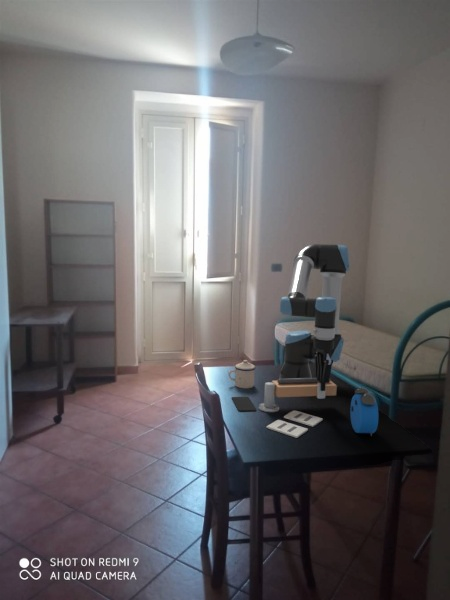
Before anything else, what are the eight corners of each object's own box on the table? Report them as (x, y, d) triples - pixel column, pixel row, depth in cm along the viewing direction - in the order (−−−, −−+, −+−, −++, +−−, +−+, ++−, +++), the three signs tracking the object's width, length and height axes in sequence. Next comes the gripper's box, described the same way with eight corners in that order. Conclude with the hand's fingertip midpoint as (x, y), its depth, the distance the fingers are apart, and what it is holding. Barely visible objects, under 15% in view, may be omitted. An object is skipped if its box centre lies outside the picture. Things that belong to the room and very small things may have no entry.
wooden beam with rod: (266, 409, 171) (268, 382, 169) (261, 402, 178) (262, 376, 177) (335, 407, 176) (337, 380, 174) (327, 399, 184) (328, 374, 182)
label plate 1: (278, 421, 163) (278, 419, 163) (307, 430, 156) (307, 428, 156) (266, 427, 157) (266, 426, 157) (296, 438, 150) (296, 436, 150)
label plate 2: (294, 411, 173) (294, 409, 173) (322, 420, 166) (322, 418, 165) (283, 417, 166) (283, 415, 166) (312, 426, 159) (313, 424, 159)
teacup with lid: (252, 382, 206) (253, 357, 205) (256, 388, 197) (257, 363, 196) (226, 382, 205) (227, 357, 203) (229, 389, 196) (230, 363, 194)
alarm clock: (377, 440, 150) (380, 397, 148) (358, 439, 150) (362, 397, 148) (365, 424, 163) (368, 384, 161) (348, 423, 163) (351, 384, 161)
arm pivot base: (265, 403, 181) (265, 401, 180) (282, 408, 176) (282, 406, 176) (254, 408, 174) (254, 406, 174) (272, 414, 169) (272, 412, 169)
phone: (248, 396, 187) (257, 410, 172) (248, 398, 187) (257, 412, 172) (231, 396, 185) (238, 410, 171) (231, 398, 185) (238, 412, 171)
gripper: (308, 334, 174) (305, 392, 177) (321, 342, 162) (318, 404, 165) (326, 334, 176) (323, 391, 179) (341, 341, 163) (337, 403, 166)
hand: (320, 397), depth 172 cm, fingers closed
